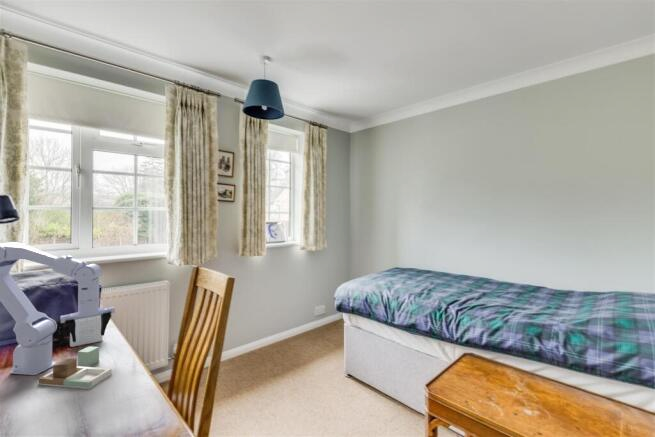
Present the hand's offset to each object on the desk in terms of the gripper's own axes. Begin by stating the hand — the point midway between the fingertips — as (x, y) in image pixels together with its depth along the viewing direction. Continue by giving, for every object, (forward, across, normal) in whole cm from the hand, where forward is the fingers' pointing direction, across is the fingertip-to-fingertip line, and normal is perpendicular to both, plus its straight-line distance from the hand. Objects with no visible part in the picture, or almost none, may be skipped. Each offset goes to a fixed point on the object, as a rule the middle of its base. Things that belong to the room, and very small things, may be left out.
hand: (88, 337), depth 102 cm
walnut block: (+8, +6, +7) cm, 13 cm away
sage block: (+9, 0, 0) cm, 9 cm away
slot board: (+9, +4, +10) cm, 14 cm away
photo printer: (+9, -2, -21) cm, 23 cm away
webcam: (+9, +6, -28) cm, 30 cm away
